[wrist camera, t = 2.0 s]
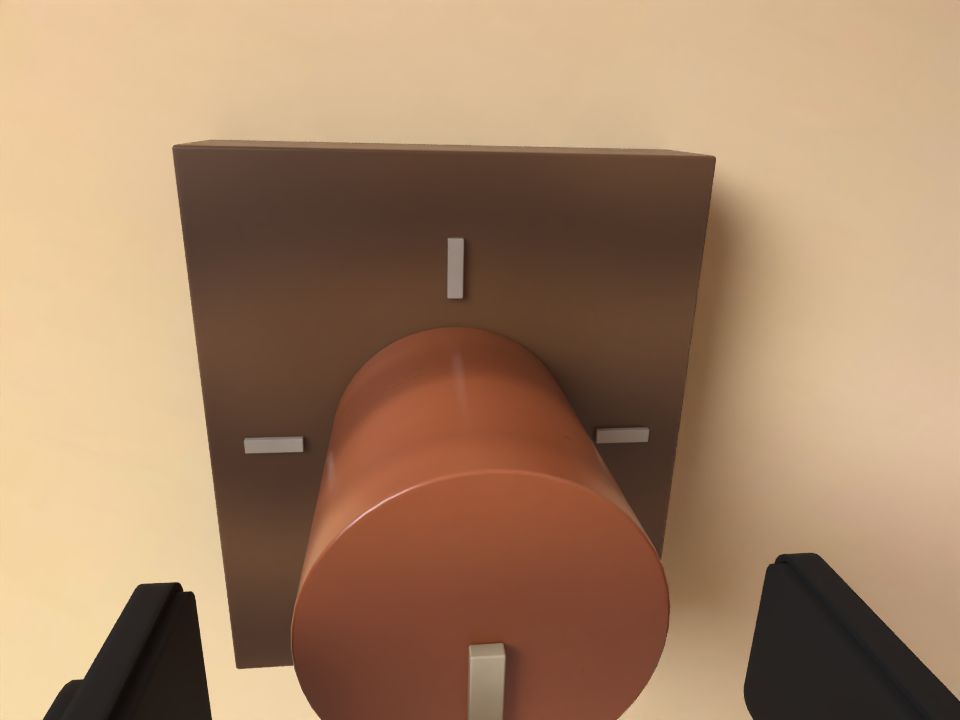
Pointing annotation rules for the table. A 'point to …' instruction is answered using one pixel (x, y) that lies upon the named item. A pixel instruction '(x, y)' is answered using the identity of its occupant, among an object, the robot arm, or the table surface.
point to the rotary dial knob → (472, 548)
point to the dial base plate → (424, 312)
